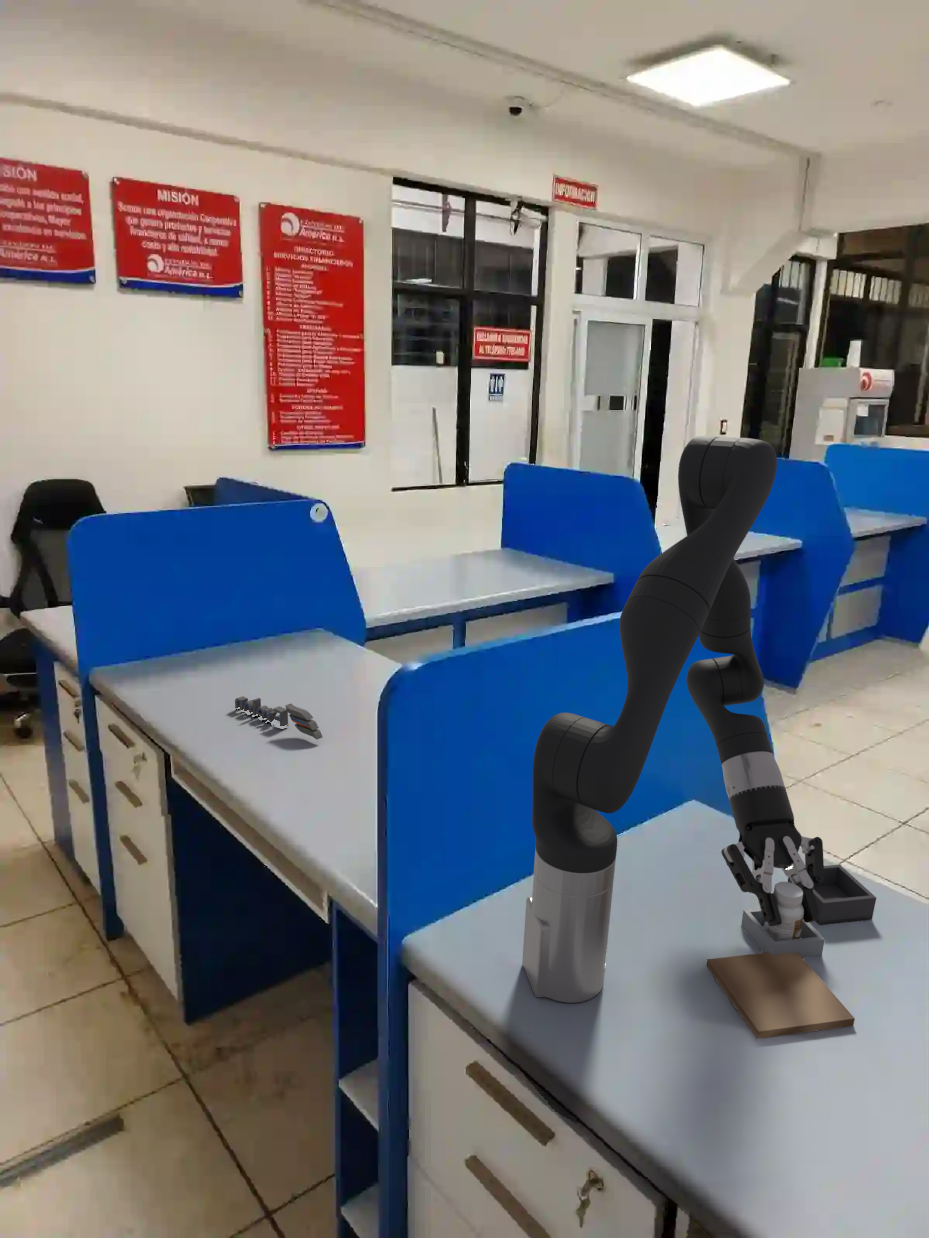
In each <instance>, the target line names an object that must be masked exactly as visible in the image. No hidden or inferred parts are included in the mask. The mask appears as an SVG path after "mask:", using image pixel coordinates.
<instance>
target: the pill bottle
mask: <svg viewBox="0 0 929 1238" xmlns="http://www.w3.org/2000/svg"><path fill="white" fill-rule="evenodd" d="M773 893H774V895H775V899H776V902H777V906H778V909H779V913H780V917H781V920H782V923H781V924H780V925H777V926H769V924H768V922H765V925H764V927H763V928H764V929H765V930H766V932H767V933H768V934H769V935H770V936H771V937H772V939H773V940H774V941H784V940H793V939H801V938H800V933H801V927H802V922H803V916H804V908H803V906H802V904H801V903H802V898H803V891H802V889H801V888H800V887H799V886H797V885H795V884H793V883H790V882H788V881H779V882H777V883H775V885H774V888H773Z"/></svg>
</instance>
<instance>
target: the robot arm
mask: <svg viewBox="0 0 929 1238" xmlns="http://www.w3.org/2000/svg"><path fill="white" fill-rule="evenodd" d="M777 464H778V458H777V453H776V451H775V448H774V447H773V446H772V445H771V444H770V443H769V442H767V441H765V440H761V439H757V438H756V439H755V438H750V437H749V438H748V437H737V436H736V437H734V436H716V435H715V436H713V435H704V436H696V437H693V438H692V439H691V440H689V441H688V442H687V443H686V446H685V447H684V449H683V450H682V453H681V456H680V460H679V464H678V472H677V482H678V483H677V484H678V492H679V501H680V505H681V511H682V516H683V521H684V526H685V532H686V535H685V537H683V538H682V539H680V540H679V541H677V542H676V543H674V544H673V545H672V546H669V548H667V549H665V550H663V552H661V553H660V554H659V555H658V556H657V557H655V558H654V559H653V560H651V562H649V563H648V564H647V565H646V566H645V567H644V569H643V570H642V571H641V573H640V575H639V576H638V578H637V580H636V582H635V585H634V586H633V588H632V590H631V592H630V594H629V596H628V598H627V600H626V602H625V604H624V605H623V606H624V607H623V608H622V611H621V612H620V619H619V638H620V643H621V649H622V654H623V658H624V659H623V660H624V664H625V670H626V680H627V681H626V682H627V689H626V690H627V691H626V696H625V700H624V703H623V706H622V709H621V712H620V714H619V717H618V719H617V721H616V722H615V724H614V725H610V724H607V723H603V722H601V721H598V720H595V719H591V718H588V717H585V716H581V715H579V714H576V713H571V712H560V713H556V714H555V715H553V716H551V718H549V719H548V721H546V723H545V724H544V726H543V727H542V729H541V731H540V734H539V736H538V738H537V740H536V745H535V748H534V755H533V762H532V812H531V815H532V816H531V818H532V819H531V824H532V825H531V826H532V830H533V833H534V836H535V848H534V849H535V850H534V851H535V852H534V861H533V862H534V864H533V865H534V866H533V877H532V878H533V880H532V892H531V893H532V895H531V896H528V897H526V901H525V902H526V904H525V913H524V914H525V918H524V932H523V944H522V945H523V947H522V959H521V960H522V962H521V963H522V967H523V969H524V972H525V974H526V977H527V979H528V982H529V984H530V987H531V989H532V992H533V994H534V996H535V997H536V998H548V999H550V1000H553V1001H557V1002H562V1003H574V1004H575V1003H582V1002H584V1001H589V1000H590V999H592V998H595V996H597V995H598V994H599V993H600V992H601V990H602V989H603V985H604V982H605V981H604V980H605V973H606V962H607V952H608V951H607V950H608V941H609V933H610V920H611V911H612V902H613V900H612V899H613V892H614V891H613V889H614V880H615V870H616V869H615V868H616V860H617V852H618V851H617V850H618V836H617V832H616V830H615V828H614V826H613V825H612V824H611V822H609V821H608V819H606V817H604V816H603V815H602V814H601V813H605V814H614V813H616V812H617V811H619V810H621V809H622V807H624V805H625V804H626V803H627V801H628V800H629V799H630V797H631V795H632V794H633V792H634V790H635V788H636V786H637V783H638V781H639V779H640V776H641V775H642V772H643V769H644V765H645V764H646V762H647V761H646V760H647V758H648V755H649V753H650V750H651V747H652V745H653V742H654V739H655V735H656V733H657V731H658V728H659V725H660V723H661V720H662V716H663V715H664V712H665V709H666V706H667V704H668V701H669V699H670V696H671V694H672V691H673V689H674V687H675V685H676V683H677V681H678V679H679V675H680V673H681V672H682V670H683V668H684V665H685V664H686V662H687V659H688V657H689V655H690V653H691V652H692V649H693V647H694V646H695V644H696V641H697V639H699V643H700V645H701V646H702V647H703V648H704V649H706V650H708V651H710V652H712V653H713V652H714V653H717V654H718V653H719V654H727V656H720V657H714V658H707V659H701V660H696V661H695V662H693V663H692V664H691V665H690V666H689V668H688V670H687V673H686V678H685V679H686V680H685V681H686V686H687V690H688V693H689V696H690V697H691V699H692V701H693V703H694V704H695V705H696V707H697V709H698V710H699V712H700V714H701V715H702V717H703V718H704V720H705V722H706V725H707V726H708V727H709V730H710V732H711V734H712V735H713V739H714V742H715V746H716V749H717V753H718V756H719V761H720V764H721V767H722V768H721V769H722V773H723V774H722V775H723V781H724V787H725V791H726V795H727V797H728V802H729V804H730V805H729V806H730V808H731V813H732V816H733V820H734V825H735V827H736V829H737V830H738V834H739V836H738V837H739V838H738V842H737V843H735V844H734V843H731V844H729V845H728V846H725V847H723V848H722V849H721V851H720V852H721V853H720V854H721V855H722V857H723V859H724V861H725V863H726V865H727V866H728V869H729V871H730V872H731V874H732V875H733V878H734V880H735V881H736V883H737V885H738V886H739V889H740V891H741V892H743V893H749V894H754V895H755V896H756V898H757V900H758V904H759V908H761V912H762V915H763V918H764V920H765V922H768V924H769V926H777V925H780V924H781V923H782V920H781V917H780V913H779V909H778V906H777V902H776V899H775V895H774V892H772V887H773V886H772V885H773V883H772V882H773V881H772V879H773V875H774V868H775V869H776V868H777V869H781V870H782V871H783V873H784V875H785V876H786V877H787V878H788V877H789V878H790V880H791V881H792V883H793V884H795V885H797V886H799V887H800V888H801V889H802V891H803V898H802V903H801V904H802V906H803V908H804V916H803V920H804V922H806V923H807V922H809V923H813V922H815V921H816V920H817V915H819V910H818V906H817V903H816V900H815V896H814V893H813V887H814V886H815V885H817V884H819V883H821V882H823V881H824V866H825V865H824V864H825V863H824V846H823V844H824V843H823V840H822V838H821V837H819V836H816V837H814V838H811V837H808V836H802V834H801V833H800V831H799V830H798V829H797V828H796V825H795V817H794V812H793V810H792V806H791V802H790V799H789V795H788V792H787V789H786V786H785V785H786V784H785V782H784V778H783V775H782V773H781V772H782V771H781V770H780V767H779V765H778V763H777V761H776V758H775V755H774V752H773V749H772V746H771V742H770V740H769V737H768V733H767V730H766V726H765V724H764V722H763V720H762V719H761V718H760V717H758V716H756V715H754V714H746V713H745V714H744V713H738V712H737V713H736V712H733V711H730V710H729V709H728V708H726V707H727V706H732V705H733V706H734V705H741V704H745V703H746V704H747V703H751V702H753V701H756V700H757V699H758V698H759V697H760V696H761V695H762V693H763V690H764V685H765V680H764V674H763V672H762V669H761V667H760V663H759V661H758V658H757V655H756V652H755V649H754V647H755V646H754V645H753V640H752V639H753V638H752V626H751V624H752V620H751V615H752V613H751V612H752V608H751V607H752V606H751V605H752V601H751V592H750V589H749V585H748V584H749V583H748V582H747V579H746V577H745V575H744V573H743V572H742V571H743V570H741V567H740V566H739V564H738V563H737V561H736V560H735V555H736V554H737V552H738V551H739V549H740V547H741V545H742V543H743V542H744V541H745V539H746V537H747V536H748V534H749V532H750V530H751V528H752V527H753V525H754V524H755V521H756V520H757V518H758V516H759V515H760V513H761V512H762V509H763V508H764V506H765V504H766V502H767V500H768V498H769V496H770V493H771V491H772V488H773V486H774V482H775V478H776V473H777V468H778V465H777ZM725 706H726V707H725ZM800 849H801V853H802V854H804V861H803V859H802V857H801V855H800V854H799V851H800ZM745 854H746V855H747V856H748V857H749V858H750V859H751V860H752V865H751V867H752V869H751V868H750V867H749V865H748V864H747V862H746V860H745ZM771 892H772V893H771Z"/></svg>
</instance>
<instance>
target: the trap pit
mask: <svg viewBox="0 0 929 1238" xmlns="http://www.w3.org/2000/svg"><path fill="white" fill-rule="evenodd" d="M787 882H790V883H792V881H791V880H790V878H789V877H787ZM813 893H814V896H815V900H816V903H817V906H818V910H819V915H817V920H816V921H814V922H815V923H816V924H817V925H818V926H819V927H821V926H829V925H830V926H831V925H836V924H837V925H838V924H845V923H847V924H848V923H856V922H867V921H873V916H874V912H875V907H876V902H877V897H876V896H875V894H873V893H872V892H871V891H870V890H869V889H867V888H866V887H865V886H864V884H862V883H861V882H860V881H858V879H856V878H855V877H854V876H853V875H852V874H851V873H850V872H849V871H848V870H846V868H844V867H843V866H842V865H841V864H830V865H824V881H823V882H821V883H819V884H817V885H815V886H814V887H813Z"/></svg>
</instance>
